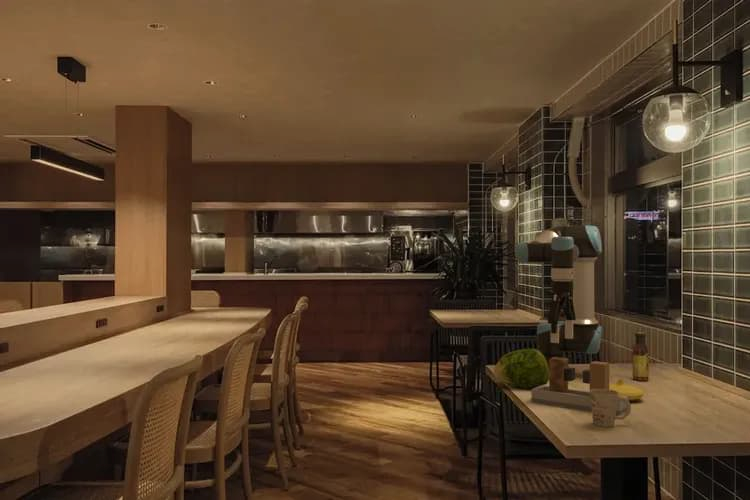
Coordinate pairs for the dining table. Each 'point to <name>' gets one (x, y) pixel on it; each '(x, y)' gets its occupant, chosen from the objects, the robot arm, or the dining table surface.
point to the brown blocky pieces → (579, 391)
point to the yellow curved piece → (626, 390)
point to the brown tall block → (560, 374)
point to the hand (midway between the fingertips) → (562, 340)
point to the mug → (606, 406)
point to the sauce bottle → (640, 358)
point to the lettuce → (522, 369)
